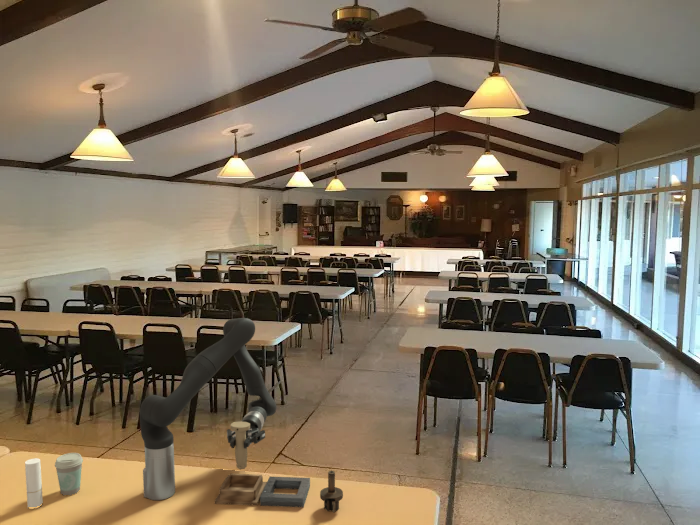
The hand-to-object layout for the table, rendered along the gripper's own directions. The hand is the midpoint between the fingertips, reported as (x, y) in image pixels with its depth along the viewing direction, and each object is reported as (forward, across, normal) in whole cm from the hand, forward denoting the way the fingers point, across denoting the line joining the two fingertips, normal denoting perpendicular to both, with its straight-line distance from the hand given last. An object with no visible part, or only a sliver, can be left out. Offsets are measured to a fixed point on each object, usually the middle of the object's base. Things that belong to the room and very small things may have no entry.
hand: (238, 445), depth 191 cm
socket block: (-2, +15, +18) cm, 23 cm away
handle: (-3, 0, +9) cm, 10 cm away
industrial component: (+4, +31, +18) cm, 36 cm away
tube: (+11, -64, +18) cm, 67 cm away
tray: (-2, 0, +18) cm, 18 cm away
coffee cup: (+1, -58, +18) cm, 61 cm away
